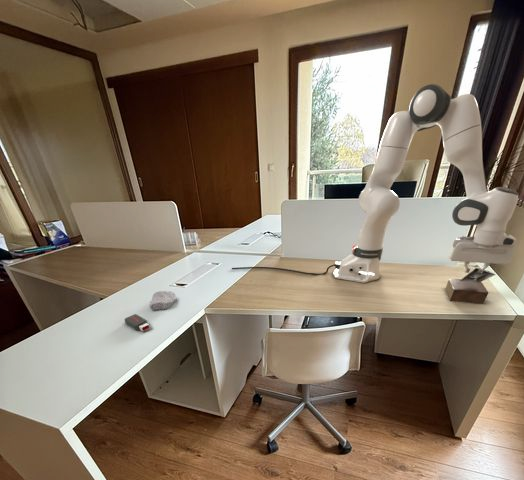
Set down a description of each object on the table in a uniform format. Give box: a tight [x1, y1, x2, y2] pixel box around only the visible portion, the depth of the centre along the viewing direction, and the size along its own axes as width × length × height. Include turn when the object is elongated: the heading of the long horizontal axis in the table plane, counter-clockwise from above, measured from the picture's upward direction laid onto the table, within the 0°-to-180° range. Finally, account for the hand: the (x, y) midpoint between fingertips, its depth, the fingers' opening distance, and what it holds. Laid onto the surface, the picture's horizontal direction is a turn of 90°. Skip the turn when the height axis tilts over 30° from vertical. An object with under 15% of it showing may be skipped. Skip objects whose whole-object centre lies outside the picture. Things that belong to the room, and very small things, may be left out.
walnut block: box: [444, 278, 490, 305], centre depth 119 cm, size 12×12×5 cm
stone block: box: [148, 290, 177, 311], centre depth 126 cm, size 12×5×10 cm
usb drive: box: [124, 313, 151, 333], centre depth 112 cm, size 5×12×3 cm, turn 48°
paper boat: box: [460, 267, 497, 283], centre depth 114 cm, size 12×6×9 cm
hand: (472, 272), depth 115 cm, fingers closed on paper boat, 3 cm apart
